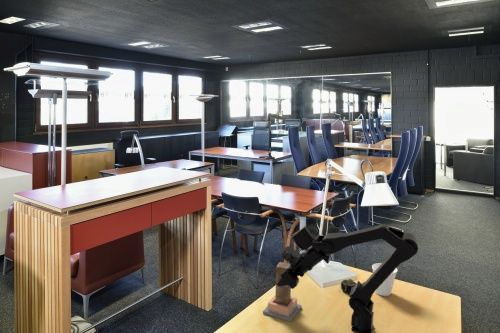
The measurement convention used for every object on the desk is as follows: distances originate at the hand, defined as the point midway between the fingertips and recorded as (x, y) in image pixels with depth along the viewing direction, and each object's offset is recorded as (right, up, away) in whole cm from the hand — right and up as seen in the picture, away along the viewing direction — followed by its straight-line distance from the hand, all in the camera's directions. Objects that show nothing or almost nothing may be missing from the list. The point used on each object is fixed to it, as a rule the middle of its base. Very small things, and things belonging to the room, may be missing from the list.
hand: (279, 282), depth 140 cm
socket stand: (+1, -11, +1) cm, 11 cm away
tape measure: (+31, -9, +18) cm, 37 cm away
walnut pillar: (+1, -7, +1) cm, 7 cm away
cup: (+44, -9, +16) cm, 48 cm away
